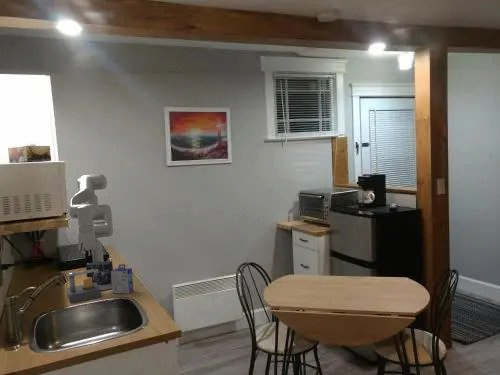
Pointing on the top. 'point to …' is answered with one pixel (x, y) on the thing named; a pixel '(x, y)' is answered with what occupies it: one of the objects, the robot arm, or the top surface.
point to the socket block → (82, 292)
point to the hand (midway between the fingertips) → (89, 262)
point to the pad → (105, 287)
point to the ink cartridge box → (122, 280)
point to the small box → (100, 272)
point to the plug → (87, 283)
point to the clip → (81, 272)
